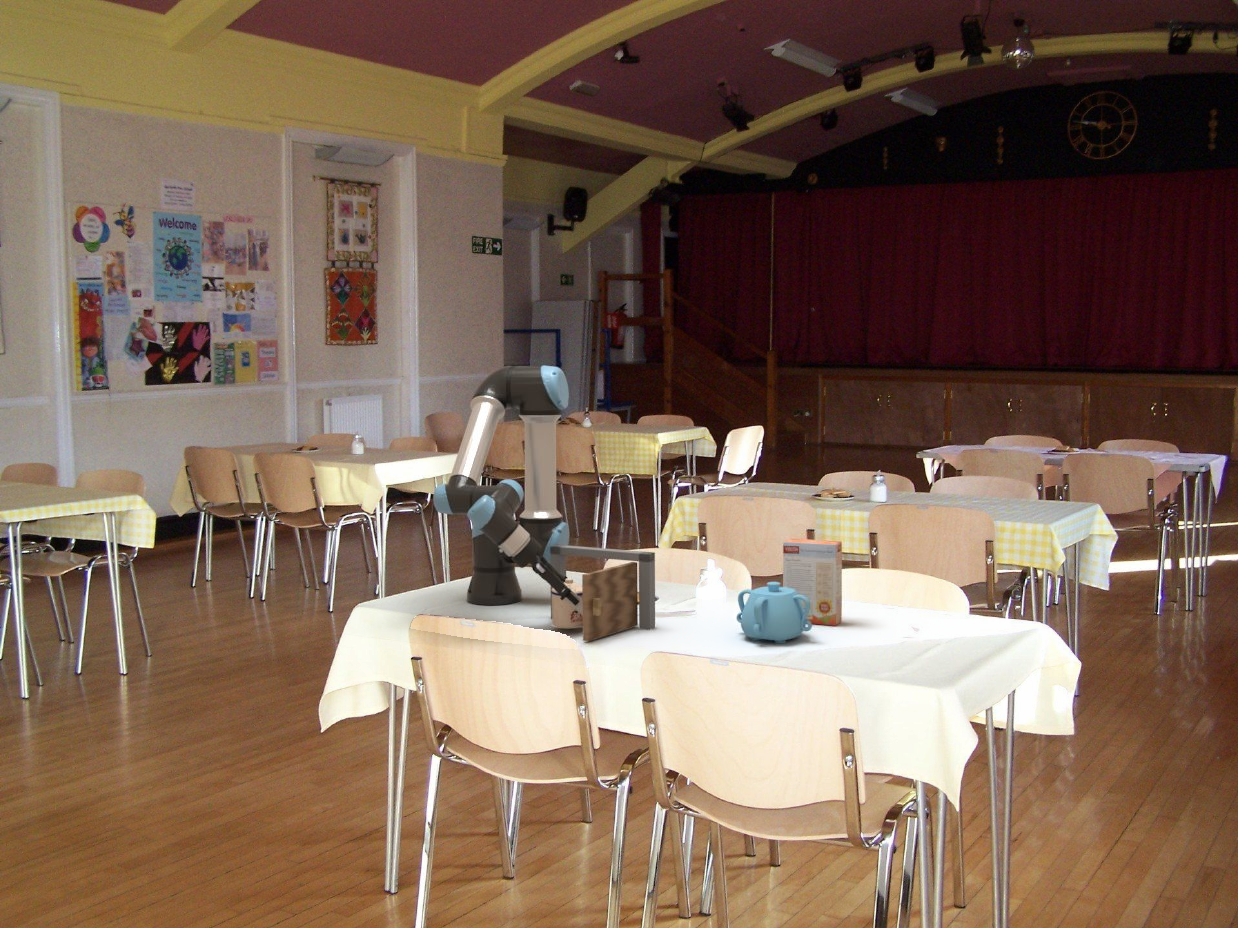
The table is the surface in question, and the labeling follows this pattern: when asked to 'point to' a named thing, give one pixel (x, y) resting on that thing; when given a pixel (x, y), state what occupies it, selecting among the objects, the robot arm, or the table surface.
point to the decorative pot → (773, 613)
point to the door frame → (644, 559)
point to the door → (609, 600)
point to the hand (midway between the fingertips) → (584, 606)
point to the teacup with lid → (566, 608)
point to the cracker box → (815, 577)
